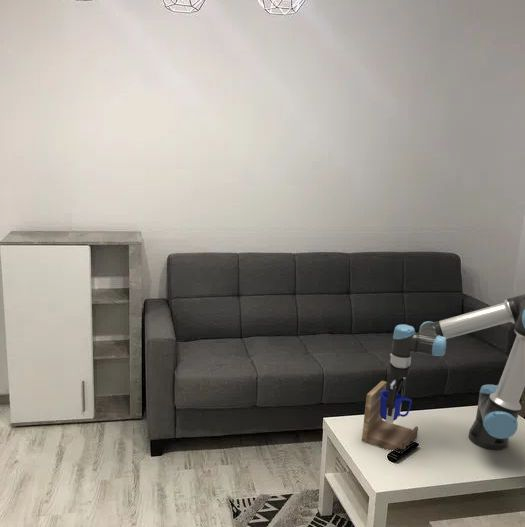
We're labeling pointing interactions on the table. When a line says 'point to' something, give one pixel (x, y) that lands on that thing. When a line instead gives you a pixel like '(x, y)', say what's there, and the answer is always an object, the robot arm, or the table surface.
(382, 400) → the mug
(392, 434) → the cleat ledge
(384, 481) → the table surface
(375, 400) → the wall board
